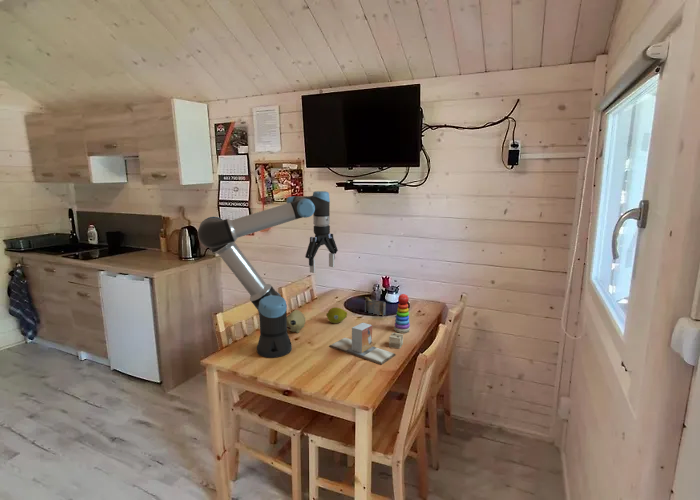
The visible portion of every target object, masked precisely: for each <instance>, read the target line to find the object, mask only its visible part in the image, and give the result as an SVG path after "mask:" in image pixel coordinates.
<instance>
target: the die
mask: <svg viewBox="0 0 700 500" xmlns="http://www.w3.org/2000/svg"><path fill="white" fill-rule="evenodd" d="M388 341H389V342H388V348H392V349H399V350H400V349H401V347H402V346H403V345H404V333H399V332H392V333H391V334H390V335H389V338H388Z"/></svg>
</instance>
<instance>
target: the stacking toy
mask: <svg viewBox="0 0 700 500" xmlns="http://www.w3.org/2000/svg"><path fill="white" fill-rule="evenodd" d="M397 299H398V300H397V301H398V304H397V309H396V310H397V311H396V315H395V318H394V319H395V320H394V327H393V330H394V331H395V332H396V333H398V334H406V333H408V332H410V331H411V327H410V326H411V323H410V316H409V315H410V313H409V304H408V302H409V296H408V295H407V294H405V293H401V294H399V296H398V297H397Z"/></svg>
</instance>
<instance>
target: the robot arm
mask: <svg viewBox="0 0 700 500" xmlns="http://www.w3.org/2000/svg"><path fill="white" fill-rule="evenodd" d="M330 199H331V198H330V193H329V192H328V191H325V190H321V191H319V190H318V191H312V195H310V196H309V195H308V196H306V195H304V196H303V195H300V196H299V195H298V196H295V195H294V196H288V197H287V198H286V203H283V204H280V205H277V206H275V207H272V208H267V209H264V210H261V211H258V212H254V213H252V214H251V213H250V214H248V215H244V216H240V217H239V218H238V217H237V218H235V219H230V218H225V219H222V218H221V217H219V216H210V217H206V218H205V219H204V220H202V222H201V223H200V224H199V226H198V230H197V238H198V241H199V242H200V244H202V245H203V246H205V247H207V248H209V250H210V251H211V252H212V254H217V255H219V257H220V259H221V260H223V262H224V263H225V264H226V266H227V267H228V269H230V271H231V272H232V273H233V275H234V276H235V277H236V278H237V280H238V281H239V282H240V283H241V285H242V286H243V288H244V289H245V290H246V291H247V292H248V293H249V295H250V297H249V300H250V302H251V303H252V305H253V306H254V307H255V309H257V312H258V316H259V317H258V318H259V333H260V335H259V339H258V342H257V345H256V352H257V353H256V354H257V355H259V356H261V357H264V358H270V359H271V358H279V357H283V356H286V355H288V354H290V353H291V351H293V350H292V347H293V345H292V342H291V338H290V336H289V334H288V330H287V316H288V315H287V311H288V309H287V308H288V305H287V301H286V299H285V298H284V297H282V296H281V294H280V293H279V292H278V291H277V290H275V288H274V287H273V286H272V284H271V283H266V282H265V281H264V279H263V278H262V277H261V275H260V274H259V273H258V271H257V270H256V269H255V267H254V265H252V263H251V262H250V260H249V259H248V258H247V257H246V256H245V254H244V253H243V252H242V250H241V249H240V248H239V246H238V245H237V244H236V242H237V239H238V238H241V237H245V236H249V235H250V234H254V233H257V232H260V231H263V230H266V229H270V228H273V227H276V226H279V225H282V224H286V223H289V222H292V221H295V220H298V219H303V218H305V219H307V218H310V217H312V216H313V219H312V220H313V234H314V236H310V237H309V244H308V246H307V249H306V252H305V255H304V257H305V258H306V259H308V266H309V272H310V273H313V274H315V273H316V259H315V257H316V254H317V253H318V250H319V248H320V247H321V246H324V245H325V247H326V248H327V251H329V253H328V267H330V268H334V267H335V258H336V257H335V254H337V252H338V251H339V250H338V247H337V244H336V241H335V239H334V233H331V226H330V224H331V223H330V222H331V220H330V212H331V211H330V205H331V201H330Z"/></svg>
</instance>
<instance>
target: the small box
mask: <svg viewBox="0 0 700 500" xmlns="http://www.w3.org/2000/svg"><path fill="white" fill-rule="evenodd" d="M351 340H352V350H354V351H357V352H360V353H363V352H364V351H366V350H368V349H370V348H372V346H373V325H372V324H371V323H365V322H361V323H359V324H357V325H355V326H352V327H351Z"/></svg>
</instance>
